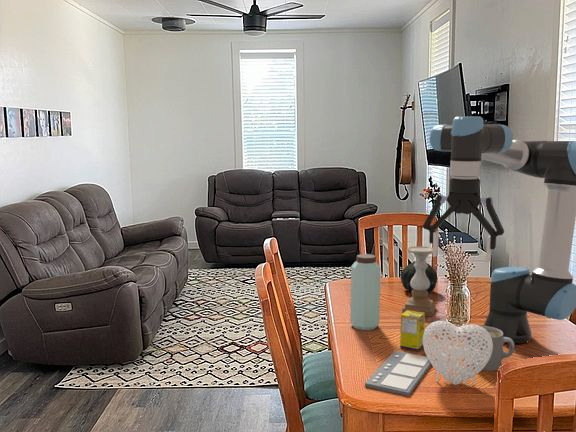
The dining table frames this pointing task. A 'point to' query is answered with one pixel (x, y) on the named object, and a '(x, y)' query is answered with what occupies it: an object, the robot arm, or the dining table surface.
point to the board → (399, 373)
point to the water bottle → (365, 292)
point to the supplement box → (412, 330)
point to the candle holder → (420, 283)
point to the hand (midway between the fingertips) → (461, 258)
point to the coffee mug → (495, 348)
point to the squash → (410, 272)
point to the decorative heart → (457, 350)
